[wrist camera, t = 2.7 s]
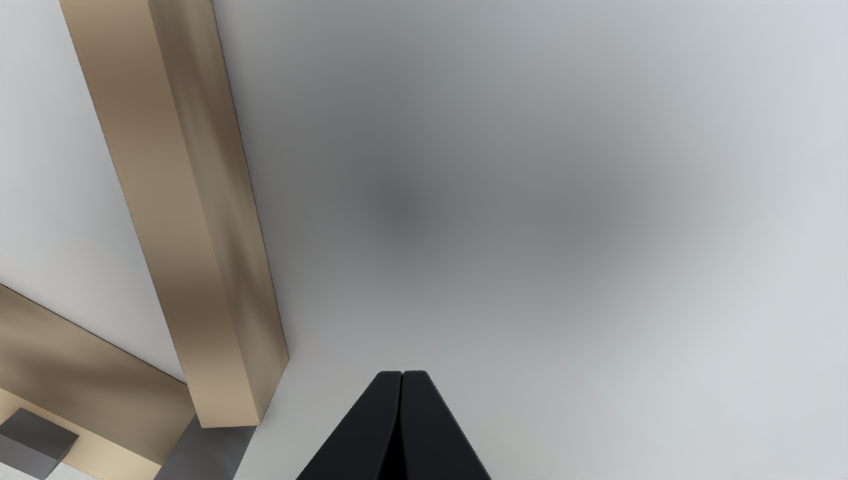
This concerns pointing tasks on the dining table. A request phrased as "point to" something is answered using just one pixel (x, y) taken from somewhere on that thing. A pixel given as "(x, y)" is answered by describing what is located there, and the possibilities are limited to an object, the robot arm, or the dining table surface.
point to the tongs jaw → (187, 193)
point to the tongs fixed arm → (98, 407)
